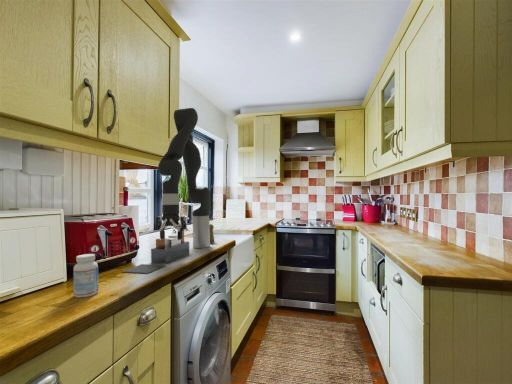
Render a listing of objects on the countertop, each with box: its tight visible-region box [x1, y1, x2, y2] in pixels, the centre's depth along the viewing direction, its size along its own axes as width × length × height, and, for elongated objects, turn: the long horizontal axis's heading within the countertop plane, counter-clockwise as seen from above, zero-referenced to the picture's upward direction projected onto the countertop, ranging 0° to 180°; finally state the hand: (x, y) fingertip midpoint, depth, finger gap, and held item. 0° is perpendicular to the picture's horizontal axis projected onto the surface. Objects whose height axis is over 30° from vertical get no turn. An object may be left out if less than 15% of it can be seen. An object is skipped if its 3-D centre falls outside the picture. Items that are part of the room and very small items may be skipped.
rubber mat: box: [121, 263, 166, 275], centre depth 105 cm, size 11×11×1 cm
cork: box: [209, 223, 215, 244], centre depth 164 cm, size 6×6×11 cm
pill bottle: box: [72, 253, 100, 299], centre depth 78 cm, size 6×6×11 cm
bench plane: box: [150, 230, 190, 265], centre depth 123 cm, size 20×7×12 cm, turn 166°
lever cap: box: [164, 234, 181, 247], centre depth 123 cm, size 8×5×4 cm, turn 166°
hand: (171, 239), depth 123 cm, fingers open, 8 cm apart
